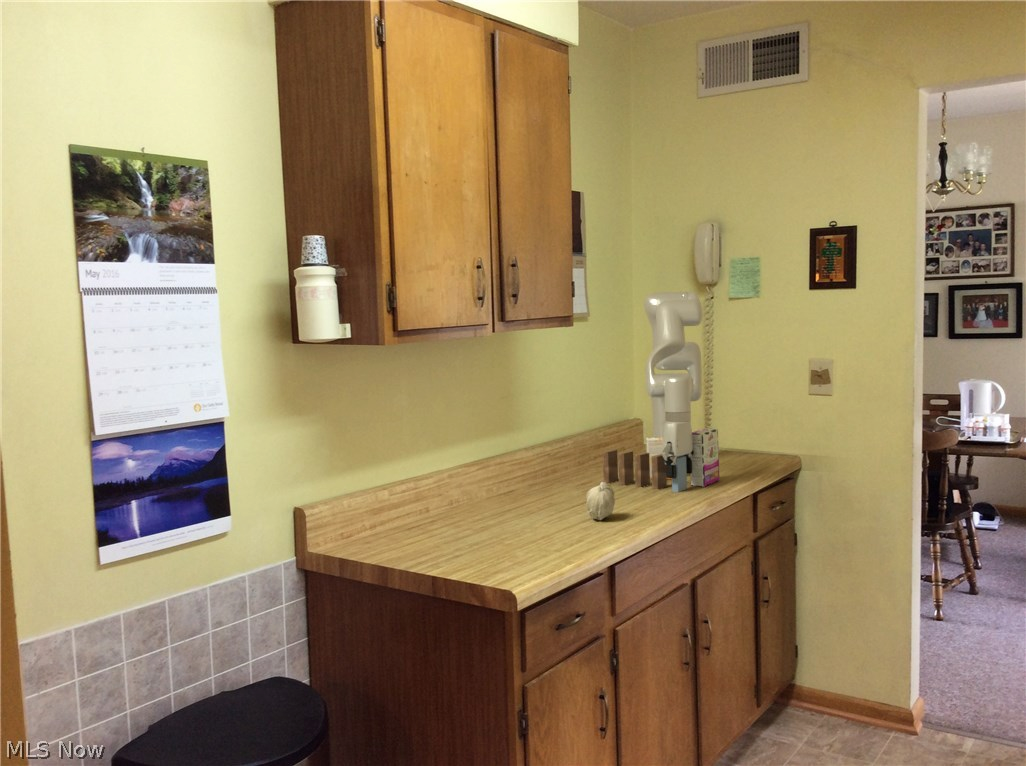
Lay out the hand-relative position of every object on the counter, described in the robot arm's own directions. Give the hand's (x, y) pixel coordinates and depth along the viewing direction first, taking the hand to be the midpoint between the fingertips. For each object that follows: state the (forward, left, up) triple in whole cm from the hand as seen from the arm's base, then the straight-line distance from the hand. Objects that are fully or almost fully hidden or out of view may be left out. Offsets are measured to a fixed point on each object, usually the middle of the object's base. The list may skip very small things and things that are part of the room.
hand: (679, 475), depth 265 cm
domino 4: (0, -7, -5) cm, 8 cm away
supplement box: (-13, -15, -5) cm, 20 cm away
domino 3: (0, -13, -5) cm, 14 cm away
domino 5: (0, 0, -5) cm, 5 cm away
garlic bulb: (+42, +2, -5) cm, 42 cm away
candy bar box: (-13, +1, -5) cm, 14 cm away
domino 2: (0, -19, -5) cm, 20 cm away
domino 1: (0, -25, -5) cm, 25 cm away
